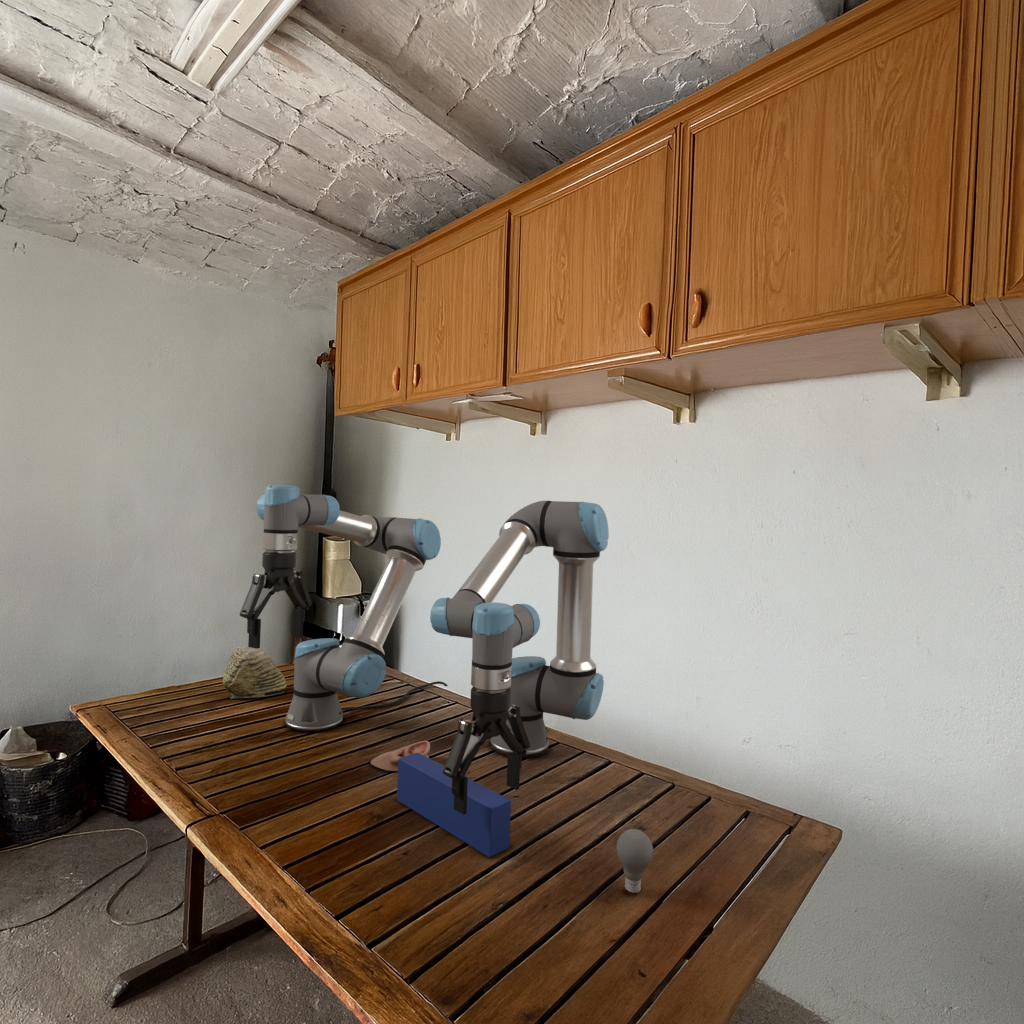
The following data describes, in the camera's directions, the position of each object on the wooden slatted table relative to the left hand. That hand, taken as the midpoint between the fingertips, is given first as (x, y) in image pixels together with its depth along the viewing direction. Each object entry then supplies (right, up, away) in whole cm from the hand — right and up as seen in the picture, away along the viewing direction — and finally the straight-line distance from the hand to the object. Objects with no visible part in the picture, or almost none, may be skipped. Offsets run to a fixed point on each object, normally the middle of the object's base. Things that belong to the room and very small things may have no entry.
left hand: (276, 642), depth 148 cm
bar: (+43, -31, -22) cm, 57 cm away
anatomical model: (+28, -30, +5) cm, 41 cm away
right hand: (+50, -24, -29) cm, 63 cm away
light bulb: (+75, -33, -42) cm, 92 cm away
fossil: (-26, -27, +50) cm, 62 cm away
